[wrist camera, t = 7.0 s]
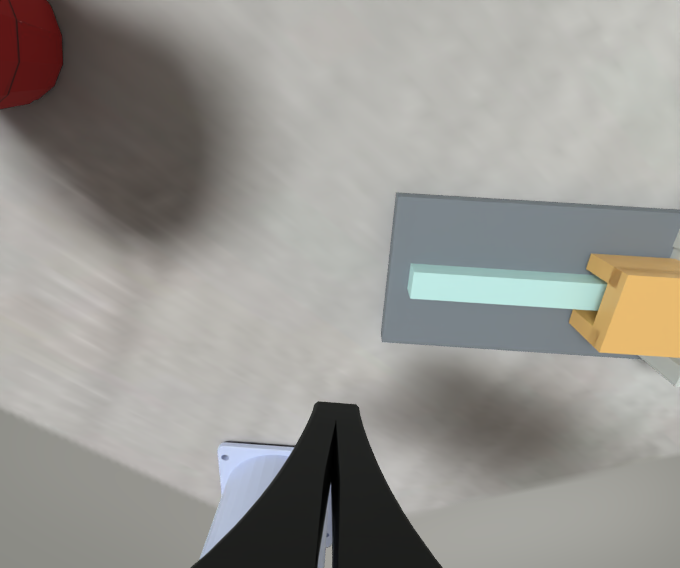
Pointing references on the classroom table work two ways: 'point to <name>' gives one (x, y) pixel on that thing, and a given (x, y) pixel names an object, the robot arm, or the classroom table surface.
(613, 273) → the sleeve
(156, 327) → the classroom table surface
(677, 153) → the classroom table surface
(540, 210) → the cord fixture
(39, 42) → the plastic cup
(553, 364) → the classroom table surface
